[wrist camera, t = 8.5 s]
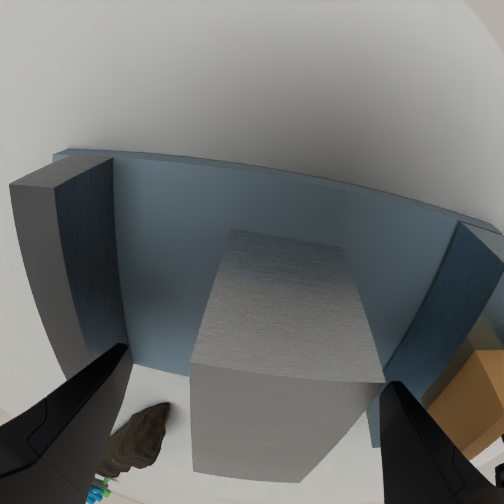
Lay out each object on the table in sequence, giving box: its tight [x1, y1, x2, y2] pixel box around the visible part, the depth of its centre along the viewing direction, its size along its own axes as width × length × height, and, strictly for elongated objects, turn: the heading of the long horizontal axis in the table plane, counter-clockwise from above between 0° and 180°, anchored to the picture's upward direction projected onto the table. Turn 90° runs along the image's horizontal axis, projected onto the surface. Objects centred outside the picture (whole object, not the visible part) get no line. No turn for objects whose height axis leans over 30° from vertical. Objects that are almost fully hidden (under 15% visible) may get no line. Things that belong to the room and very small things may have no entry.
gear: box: [86, 477, 111, 504], centre depth 31 cm, size 11×6×10 cm
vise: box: [9, 149, 502, 380], centre depth 11 cm, size 19×11×4 cm, turn 82°
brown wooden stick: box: [96, 404, 170, 478], centre depth 21 cm, size 19×4×5 cm, turn 142°
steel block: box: [190, 228, 386, 483], centre depth 10 cm, size 4×7×6 cm, turn 172°
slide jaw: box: [366, 222, 504, 460], centre depth 9 cm, size 3×11×6 cm, turn 172°
